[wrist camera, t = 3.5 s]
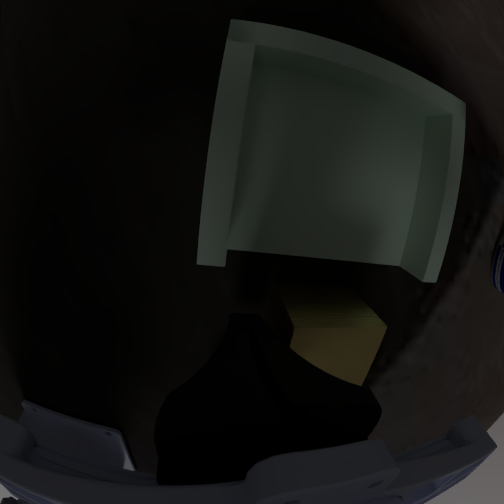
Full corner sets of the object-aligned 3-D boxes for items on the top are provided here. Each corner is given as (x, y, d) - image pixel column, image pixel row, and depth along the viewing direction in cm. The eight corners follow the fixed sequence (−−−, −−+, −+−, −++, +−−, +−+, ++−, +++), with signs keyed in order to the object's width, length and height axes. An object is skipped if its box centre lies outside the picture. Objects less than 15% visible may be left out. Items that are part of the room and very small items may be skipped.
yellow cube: (261, 348, 14) (273, 403, 11) (273, 280, 13) (294, 327, 9) (329, 348, 15) (355, 396, 11) (348, 285, 14) (387, 326, 10)
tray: (201, 243, 12) (196, 263, 10) (228, 44, 9) (230, 19, 7) (408, 264, 14) (435, 282, 11) (434, 107, 11) (465, 103, 9)
